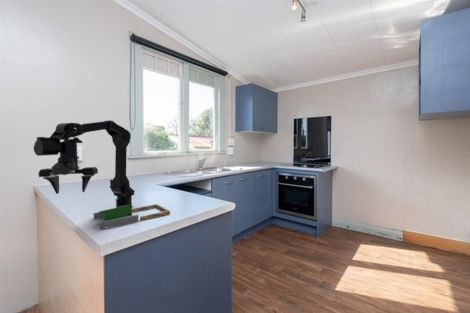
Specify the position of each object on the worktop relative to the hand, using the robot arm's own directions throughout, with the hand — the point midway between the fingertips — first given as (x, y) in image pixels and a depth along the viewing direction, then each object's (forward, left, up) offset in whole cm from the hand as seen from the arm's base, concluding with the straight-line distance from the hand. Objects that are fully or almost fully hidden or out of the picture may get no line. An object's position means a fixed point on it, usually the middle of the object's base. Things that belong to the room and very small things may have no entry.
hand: (70, 192), depth 91 cm
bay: (-29, +6, -13) cm, 33 cm away
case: (-15, +6, -13) cm, 21 cm away
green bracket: (-15, +7, -13) cm, 21 cm away
